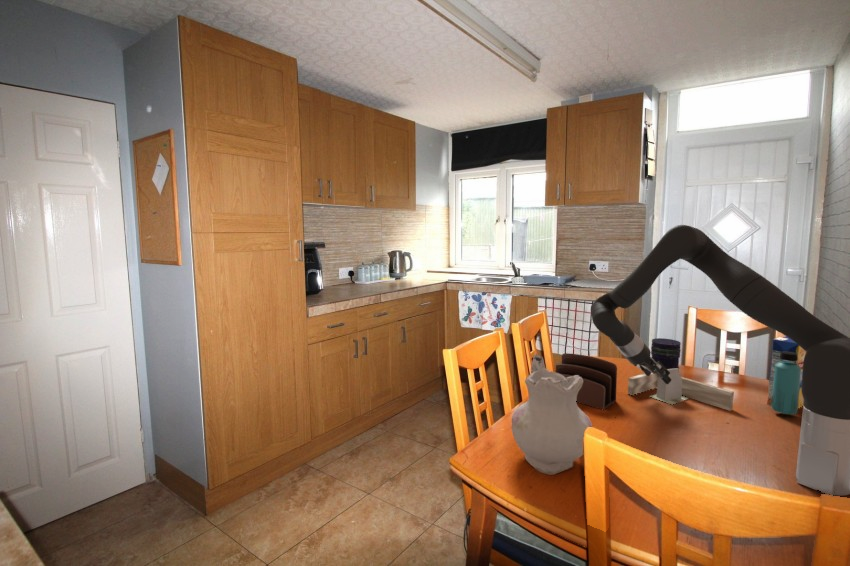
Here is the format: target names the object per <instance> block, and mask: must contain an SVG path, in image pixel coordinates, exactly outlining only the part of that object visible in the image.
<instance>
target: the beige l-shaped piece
mask: <svg viewBox="0 0 850 566" xmlns="http://www.w3.org/2000/svg"><path fill="white" fill-rule="evenodd" d="M658 378H659V376H658V375H656V374H653V373H651V374H650V375H649V376H647V375H646V374H645V373H644V372H643V373H640V374H638V375H634V376H630V377H628V383H627V395H628V394H630V395H629V396H631V395H633V396H635V395H634V394H636V395H638V394H637V393H640V394H642V393H641V392H643V393H645V392H644V391H646V392H648V391H647V390H649V391H651V390H650V389H652V390H654V389H653V388H656V387H657V380H658ZM681 379H682V395H683V396H682V395H681V399H673V400H666V401H665V400H663V399H660V398H658V397H656V395H657V393H656V394H655V393H654V394H653V395H649V396H648V398H650V397H652V398H651V399H653V398H654V400H656V399H657V400H656V401H659V400H660V402H662V401H663V402H662V403H664V402H666V403H665V404H667V403H669V404H668V405H670V404H671V405H670V406H673V404H674V405H676V403H677V404H679V403H682V402H685V401H687V399H688V400H690V399H691V398H692V400H694V399H695V401H698V402H701V403H703V404H708V405H710V406H713V407H717V408H719V409H723V410H726V411H729V412H730V411H733V407H734V394H735V392H734V391H732V390H731V389H730V390H728V389H726V388H722V387H719V386H715V385H711V384H708V383H704V382H701V381H697V380H694V379H691V378H686V377H683V376H681ZM656 389H657V388H656ZM685 396H686V397H685ZM688 397H689V398H688ZM684 400H685V401H684ZM681 401H682V402H681ZM678 402H679V403H678Z"/></svg>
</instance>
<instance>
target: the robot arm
mask: <svg viewBox="0 0 850 566" xmlns="http://www.w3.org/2000/svg"><path fill="white" fill-rule="evenodd" d="M679 260H683V261H685V262H687V263H689V264H690V265H692V266H693V267H695V268H697V270H699V271H701V272H703V274H705V275H706V276H707V277H709V279H710V280H711V281H712V283H713V284H714V285H715V287H716V288H717V289H718V291H719V292H720V293H721V294H722V295H723V296H724V297H725V298H726V299H727V301H729V302H730V303H731V304H733V305H734V306H735V307H736V308H737V309H739V310H740V311H741V312H742V313H744V314H745V315H746V316H748V317H749V318H750V319H752V320H754V321H755V322H758V323H760V324H762V325H764V326H766V327H768V328H769V329H772V330H774V331H775V332H778V333H780V334H782V335H784V336H787V337H789V338H790V339H792V340H793V341H794V342H795V343H797V344H798V345H799V346H800V347H801V348H803V349H804V350H805V351H806V354H805V357H804V362H803V372H802V395H803V398H804V402H803V407H802V414H801V415H802V416H801V424H800V434H799V443H798V451H797V452H798V453H797V462H796V470H795V471H796V472H795V478H796V480H797V484H800V485H803V486H805V487H807V488H810V489H813V490H814V491H817V490H819V491H821V492H820V493H822V494H824V493H825V495H827V494H830V495H834V496H839V497H840V496H848V495H850V337H849V336H847V335H845V334H844V333H842V332H841V331H839V330H838V329H835V328H834V327H832V326H831V325H829V324H828V323H826V322H824V321H823V320H820V319H819V318H818V317H816V316H815V315H814V314H813V313H811V312H810V311H808V310H807V309H806V308H805V307H804V306H802V305H801V304H800V303H798V302H797V301H796V300H795V299H794V298H792V297H790V295H788V294H787V293H785V292H784V291H783V290H781V289H780V288H779V287H778V286H777V285H775V284H774V283H772V282H771V281H769V279H767V278H766V277H764V276H763V275H761V274H760V273H758V272H757V271H755V270H754V269H752V268H750V267H749V266H748V265H746V264H744V263H742V262H741V261H739V260H738V259H735V258H734V257H732V256H731V255H730V254H728V253H727V252H726V251H724V250H723V249H722V248H721V247H720V246H718V245H717V243H716V242H714V241H713V239H711V237H709V236H708V235H707V234H706V233H705V232H704V231H703V230H701V229H699V228H696V227H693V226H691V225H686V224H678V225H675V226H673V227H671V228H669V230H667V231H666V233H665V234H663V235H662V237H661V238H660V239H659V241H658V242H657V243H656V245H655V246H654V247H653V249H652V250H651V251H650V252H649V253H648V254H647V255H646V257H645V258H644V259H643V260H642V262H641V263H640V264H639V265H637V267H636V268H634V269H633V271H632V272H630V274H629V275H628V276H626V277H625V278H624V279H623V280H622V281H621V282H620V283H618V284H617V285H616V286H615V287H614V288H613V289H612V290H610V291H609V292H608V291H607V292H606V293H604V294H603V295H601V296H599V297H598V298H596V299H595V300H594V301H593V303H592V304H591V306H590V314H591V320H592V324H593V325H594V326H595V328H596V329H597V330H598V331H599V332H600V333H602V334H603V335H605V336H606V337H608V339H610V340H611V342H612V343H614V345H615V346H616V348H617V349H618V351H619V352H620V353H621V354H622V356H624V358H626V360H627V361H628V362H629V363H630V364H631V365H633V366H634V367H637V368H638V369H639V370H641V371H642V372H643V374H644V373H645V374H646V375H647V376H649V375H650V374H651V373H653V374H656V375H658V376H659V377H660V378H661V379H662V380H663V381H664V382H665V384H669V383H670V382H671V378H670V377H669V376H668V375H669V374H670V372H669V371H668V370H667V369H666V368H665V367H664V365H663V364H662V363H661V362H659V361H658V362H655V361H654V359H653V358H652V356H651V355H652V354H651V350H650V349H651V348H649V347H648V346H647V344H645V342H644V341H643V340H642V338H640V336H639V335H637V334H636V332H635V331H633V329H632V328H631V327H630V326H629V325H628V324H627V323H626V322H625V321H623V320H620V319H619V318H618V317H617V315H616V310H617V309H618V308H621V309H629V308H630V307H631V306H633V305H634V304H635V303H636V302H637V301H639V300H640V299H641V298H642V297H643V296H644V295H645V294H646V293H647V292H648V291H649V290H650V289H651V288H652V286H653V284H654V283H655V282H656V280H657V279H658V277H659V276H660V275H661V274H662V273H663V272H664V271H665V270H666V269H667V268H668V267H670V266H671V265H673V264H675V263H676V262H677V261H679ZM653 368H655V370H654V371H653V370H652V369H653ZM819 491H818V492H819Z"/></svg>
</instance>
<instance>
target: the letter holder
mask: <svg viewBox="0 0 850 566" xmlns="http://www.w3.org/2000/svg"><path fill="white" fill-rule="evenodd" d="M554 372H556V373H559V374H561V375H563V376H564V377H565V378H567V377H570V376H574V375H579V377H581V378H582V379H583V384H582V387H581V388H580V390H579V392H578V394H577V399H576V401H577V402H576V403H578V402H580V403H579V404H581V403H583V404H582V405H585V404H586V405H585V406H588V405H590V406H589V407H592V406H593V407H592V408H595V407H596V409H598V410H602V409H603V411H605V410H606V409H607V408H609V407H611V406H612V405H614V404H615V403H616V401H617V380H618V379H617V377H618V376H617V375H618V367H617V364H616V363H613V362H611V361H607V360H605V359H603V358H597V357H595V356H590V355H585V354H577V353H565V352H564V353H562V354H561V363H557V364H556V365H555V370H554ZM614 402H615V403H614Z"/></svg>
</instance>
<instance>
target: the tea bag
mask: <svg viewBox="0 0 850 566" xmlns="http://www.w3.org/2000/svg"><path fill="white" fill-rule="evenodd" d="M667 370H668V371H669V372H670V374H669V375H668V376H669V377H670V378H671V382H670V383H669V384H665V382H664V381H663V380H662V379H661V378H660V377H659V378H658V380H657V388H656V394H657V395H656V397H658V398H660V399H663V400H665V401H666V400H673V399H681V396H682V379H681V377H682V376H681V373H680V367H679V368H675V369H667Z"/></svg>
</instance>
